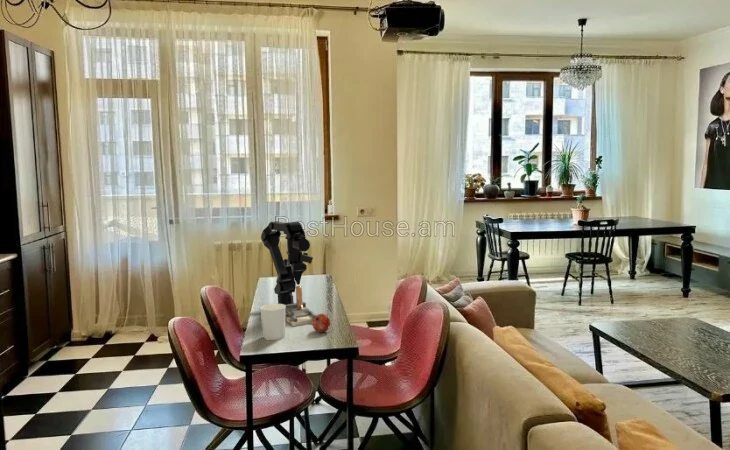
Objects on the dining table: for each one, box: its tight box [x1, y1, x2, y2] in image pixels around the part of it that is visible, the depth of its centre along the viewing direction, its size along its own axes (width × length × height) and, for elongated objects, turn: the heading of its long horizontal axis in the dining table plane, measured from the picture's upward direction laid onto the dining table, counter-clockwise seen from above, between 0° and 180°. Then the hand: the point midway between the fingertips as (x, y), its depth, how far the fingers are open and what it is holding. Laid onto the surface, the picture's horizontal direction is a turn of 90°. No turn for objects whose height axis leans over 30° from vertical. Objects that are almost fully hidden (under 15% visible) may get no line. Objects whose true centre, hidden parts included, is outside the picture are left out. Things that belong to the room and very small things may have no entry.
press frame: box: [285, 301, 318, 327], centre depth 222 cm, size 18×12×4 cm, turn 24°
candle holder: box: [259, 303, 286, 341], centre depth 198 cm, size 10×10×12 cm
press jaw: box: [291, 285, 310, 317], centre depth 221 cm, size 4×7×13 cm, turn 114°
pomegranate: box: [311, 313, 331, 333], centre depth 203 cm, size 7×7×10 cm
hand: (295, 282), depth 234 cm, fingers open, 9 cm apart
